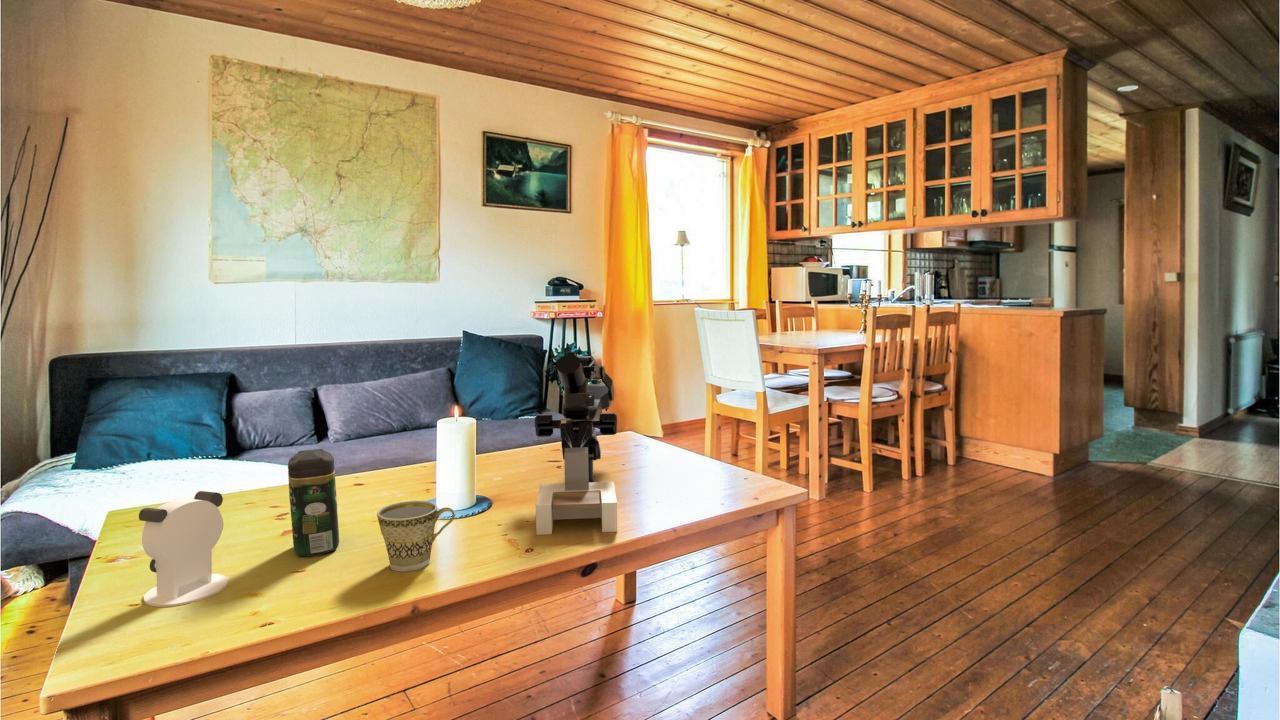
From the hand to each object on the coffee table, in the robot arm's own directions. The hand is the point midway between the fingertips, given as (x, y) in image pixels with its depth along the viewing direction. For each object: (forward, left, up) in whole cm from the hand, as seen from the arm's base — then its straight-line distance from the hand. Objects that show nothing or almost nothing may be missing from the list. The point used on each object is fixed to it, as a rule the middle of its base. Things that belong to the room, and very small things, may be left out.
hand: (576, 456), depth 149 cm
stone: (+6, 0, -1) cm, 6 cm away
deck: (+10, 0, -11) cm, 15 cm away
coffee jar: (+20, -49, -11) cm, 54 cm away
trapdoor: (+14, 0, -6) cm, 15 cm away
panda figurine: (+36, -63, -11) cm, 73 cm away
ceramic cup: (+29, -28, -11) cm, 42 cm away
